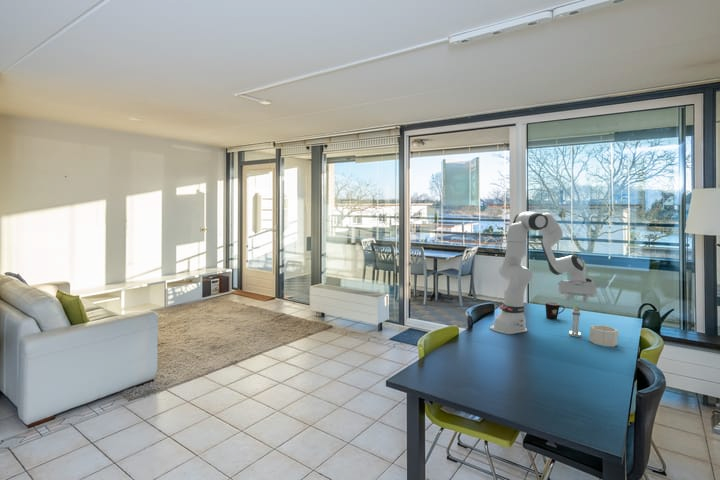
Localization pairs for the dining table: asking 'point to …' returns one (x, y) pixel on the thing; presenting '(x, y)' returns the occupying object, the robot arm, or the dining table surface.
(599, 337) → the round wooden bowl
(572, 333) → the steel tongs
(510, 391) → the dining table surface
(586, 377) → the dining table surface
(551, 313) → the coffee mug
